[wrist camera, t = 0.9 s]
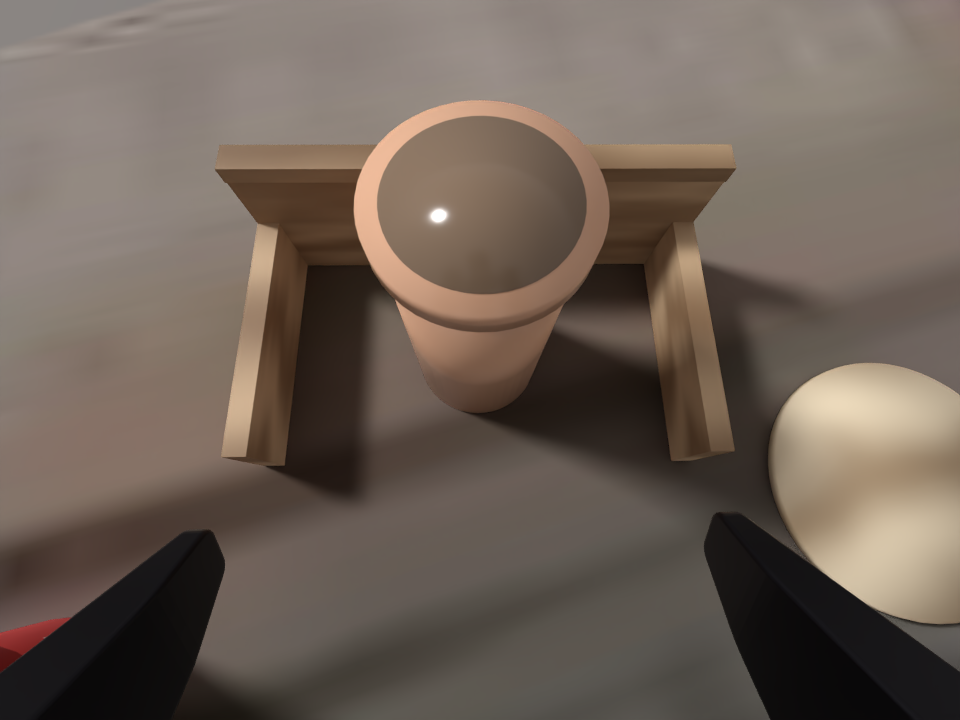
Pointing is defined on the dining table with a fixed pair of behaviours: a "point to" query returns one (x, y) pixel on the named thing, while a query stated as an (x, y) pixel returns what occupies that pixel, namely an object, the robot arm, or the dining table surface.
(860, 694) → the robot arm
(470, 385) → the terracotta pot
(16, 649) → the canned food
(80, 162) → the dining table surface
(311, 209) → the cold frame
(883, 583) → the cream flat disc
